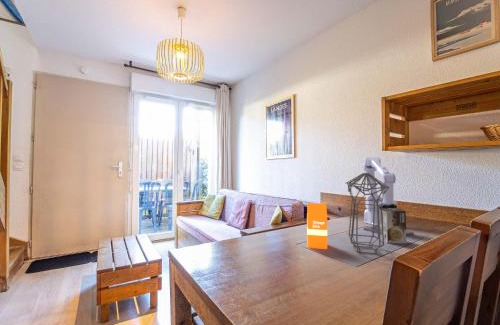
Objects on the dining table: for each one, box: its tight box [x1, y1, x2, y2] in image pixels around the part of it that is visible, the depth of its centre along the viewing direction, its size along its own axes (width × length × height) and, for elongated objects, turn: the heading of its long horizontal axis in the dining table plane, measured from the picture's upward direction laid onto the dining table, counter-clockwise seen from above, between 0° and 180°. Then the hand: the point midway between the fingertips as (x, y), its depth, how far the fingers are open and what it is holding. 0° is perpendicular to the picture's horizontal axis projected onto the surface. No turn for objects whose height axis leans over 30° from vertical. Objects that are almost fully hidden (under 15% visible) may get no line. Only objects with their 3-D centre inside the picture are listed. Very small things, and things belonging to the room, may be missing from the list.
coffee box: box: [382, 208, 407, 245], centre depth 119 cm, size 9×6×16 cm
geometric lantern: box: [345, 172, 390, 255], centre depth 106 cm, size 16×16×35 cm
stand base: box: [363, 224, 415, 236], centre depth 137 cm, size 18×18×5 cm
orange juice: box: [306, 202, 328, 250], centre depth 113 cm, size 8×9×20 cm
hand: (387, 217), depth 137 cm, fingers closed on column, 4 cm apart
